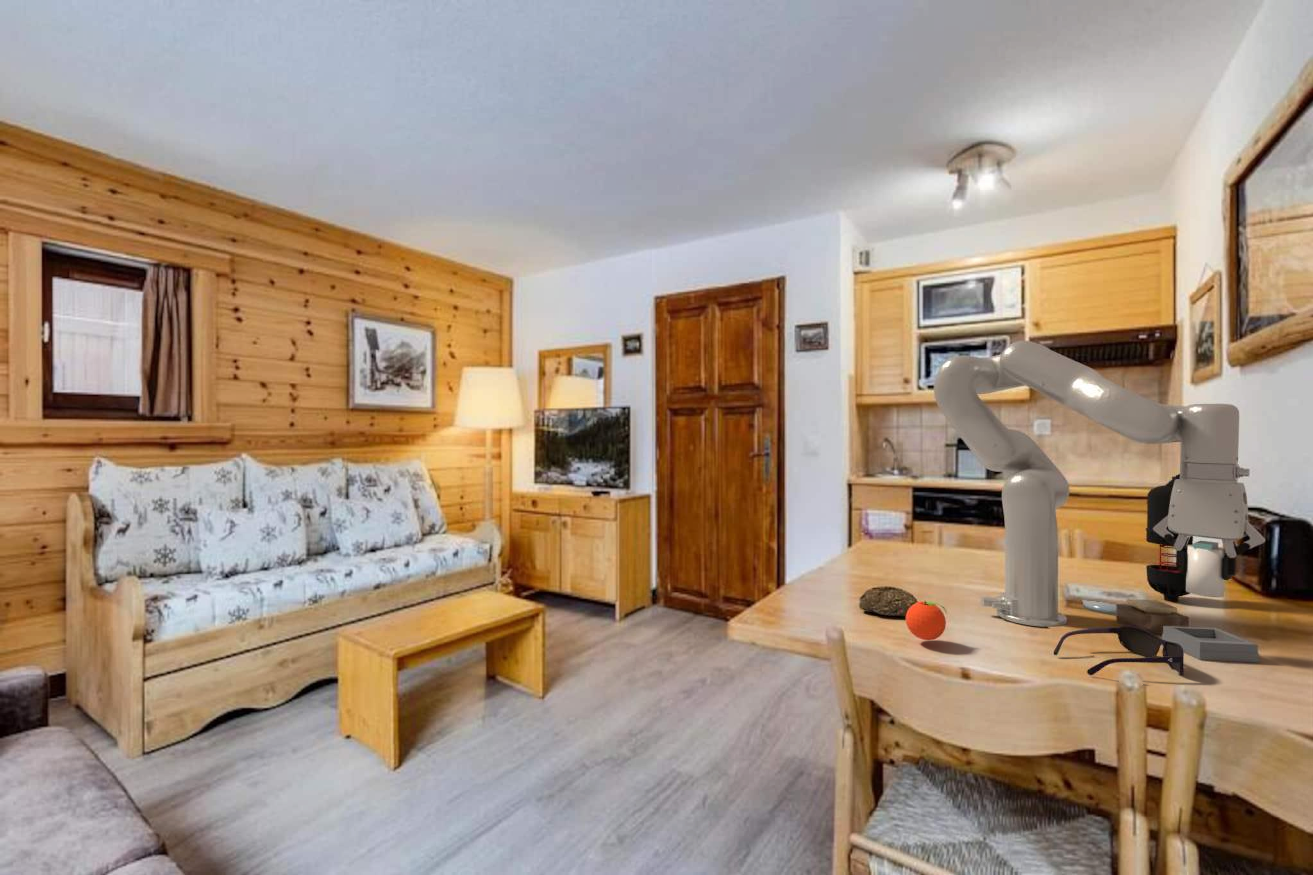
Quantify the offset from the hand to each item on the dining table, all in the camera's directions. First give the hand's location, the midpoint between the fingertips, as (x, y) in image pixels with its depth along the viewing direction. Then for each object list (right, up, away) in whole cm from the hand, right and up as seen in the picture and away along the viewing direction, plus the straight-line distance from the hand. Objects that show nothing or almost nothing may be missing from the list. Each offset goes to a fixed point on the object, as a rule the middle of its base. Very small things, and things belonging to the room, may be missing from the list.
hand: (1205, 574), depth 106 cm
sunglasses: (-20, -14, -6) cm, 25 cm away
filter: (+22, -14, +33) cm, 42 cm away
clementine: (-46, -14, +6) cm, 49 cm away
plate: (+3, -14, +26) cm, 29 cm away
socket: (0, -14, 0) cm, 14 cm away
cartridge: (0, -3, 0) cm, 3 cm away
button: (+1, -12, +13) cm, 18 cm away
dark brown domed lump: (-46, -14, +27) cm, 55 cm away
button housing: (+1, -14, +13) cm, 19 cm away
